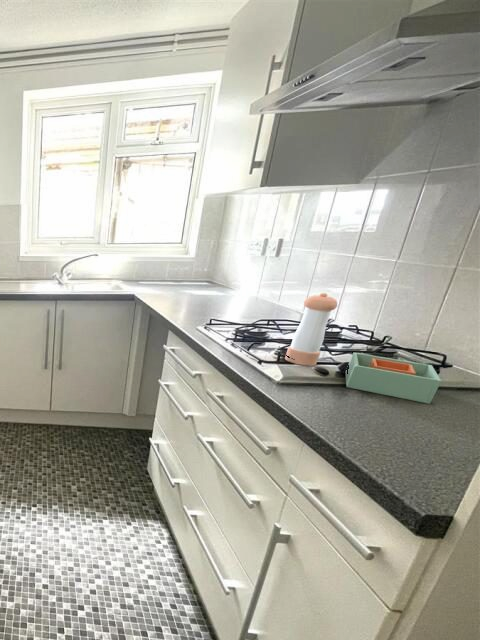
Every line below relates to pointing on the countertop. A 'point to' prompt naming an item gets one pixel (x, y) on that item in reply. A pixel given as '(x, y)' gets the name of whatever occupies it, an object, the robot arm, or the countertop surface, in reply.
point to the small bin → (392, 366)
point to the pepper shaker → (311, 330)
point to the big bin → (392, 379)
